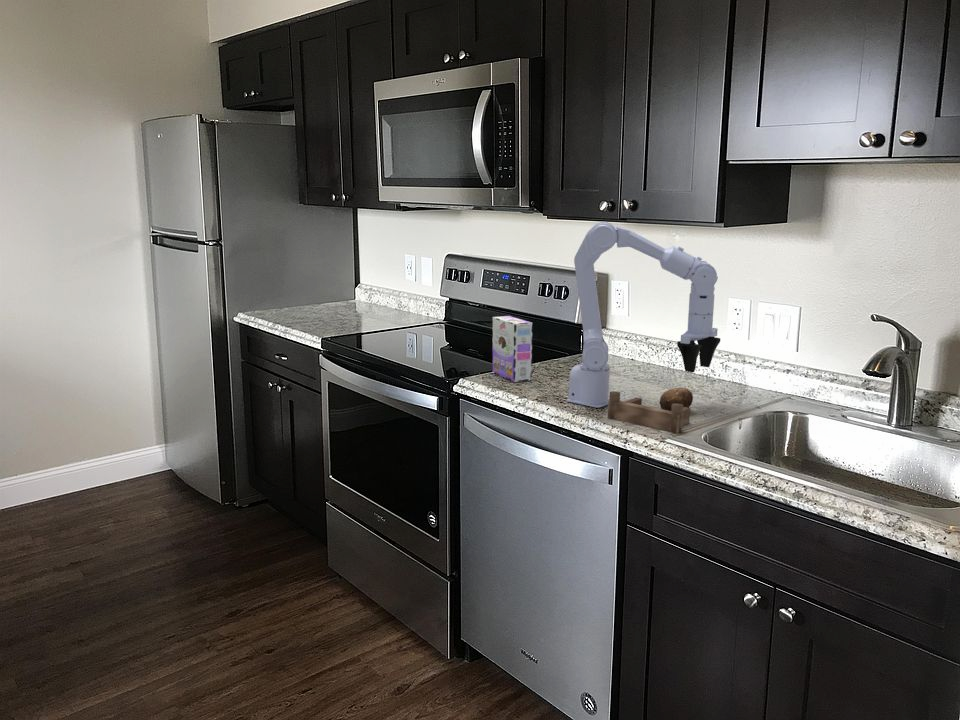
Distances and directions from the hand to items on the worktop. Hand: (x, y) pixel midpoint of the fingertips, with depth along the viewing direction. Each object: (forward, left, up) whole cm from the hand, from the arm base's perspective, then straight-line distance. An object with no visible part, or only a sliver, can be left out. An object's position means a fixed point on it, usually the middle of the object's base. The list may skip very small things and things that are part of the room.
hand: (697, 369), depth 201 cm
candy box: (-54, -5, -10) cm, 55 cm away
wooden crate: (-2, -18, -10) cm, 20 cm away
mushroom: (-2, -7, -10) cm, 12 cm away
